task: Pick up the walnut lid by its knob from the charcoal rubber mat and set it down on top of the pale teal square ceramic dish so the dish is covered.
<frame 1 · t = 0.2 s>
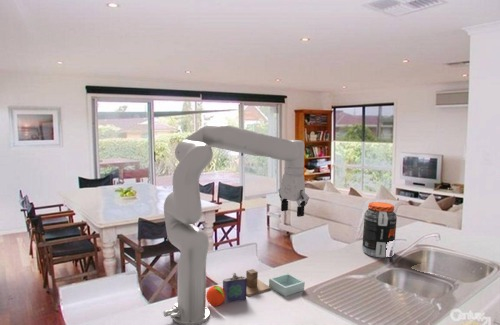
hand: (292, 213, 151), 30 cm above the countertop, tool pointing down, fingers open, 9 cm apart
lid: (251, 287, 151), point 1 cm above the countertop, touching mat
supplement tub: (377, 253, 196), on the countertop
clementine: (216, 305, 137), on the countertop, touching flask
dish: (286, 289, 151), on the countertop
flask: (234, 301, 141), on the countertop, touching clementine
mat: (251, 288, 151), on the countertop
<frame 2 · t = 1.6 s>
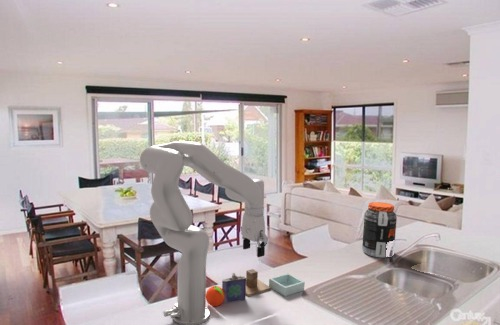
hand: (253, 252, 150), 15 cm above the countertop, tool pointing down, fingers open, 9 cm apart
clementine: (216, 306, 137), on the countertop, touching flask
flask: (233, 301, 141), on the countertop, touching clementine
everything else where it was.
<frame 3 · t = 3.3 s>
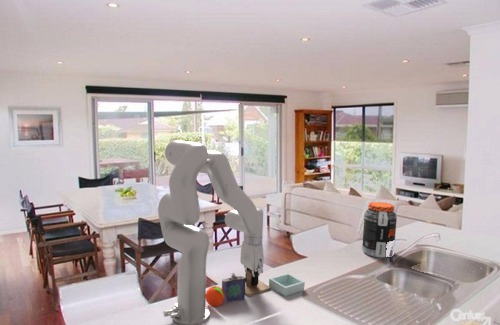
hand: (251, 282, 151), 3 cm above the countertop, tool pointing down, fingers closed on lid, 3 cm apart
lid: (251, 287, 151), point 1 cm above the countertop, touching gripper, mat
everything else where it was.
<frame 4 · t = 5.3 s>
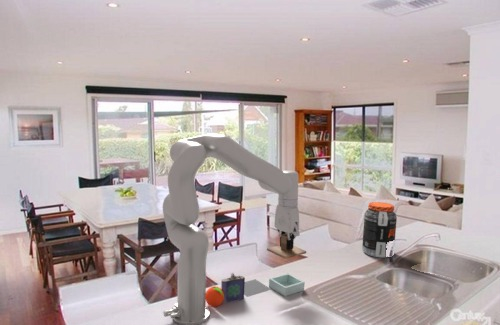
hand: (286, 247, 149), 18 cm above the countertop, tool pointing down, fingers closed on lid, 3 cm apart
lid: (286, 251, 149), point 16 cm above the countertop, touching gripper
everything else where it was.
when the fingers open (7 cm above the countertop, at t = 7.6 s): lid stays where it is, resting on dish.
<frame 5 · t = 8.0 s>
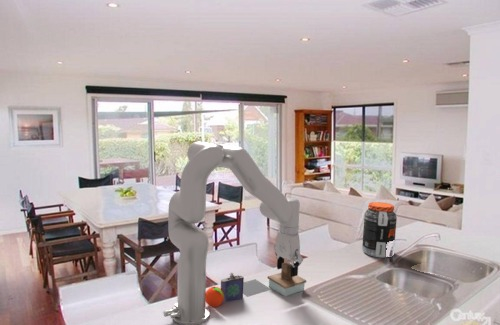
hand: (287, 271, 150), 8 cm above the countertop, tool pointing down, fingers open, 7 cm apart
lid: (286, 280, 151), point 4 cm above the countertop, touching dish
everything else where it was.
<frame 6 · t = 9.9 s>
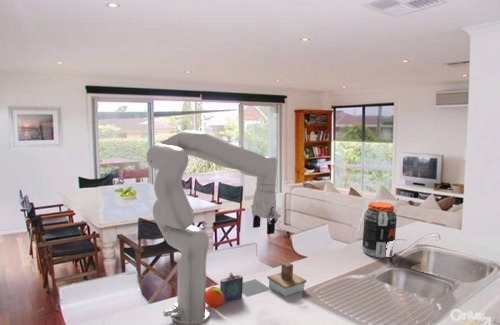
hand: (263, 230, 149), 24 cm above the countertop, tool pointing down, fingers open, 9 cm apart
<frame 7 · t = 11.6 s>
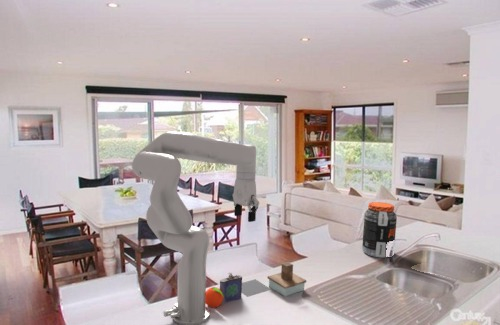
hand: (244, 218, 150), 28 cm above the countertop, tool pointing down, fingers open, 9 cm apart
at the end: lid inside the target area on the dish (0.0 cm from its centre), point 4.0 cm above the dish's base; lid tilted 0°; the gripper is holding nothing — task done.
